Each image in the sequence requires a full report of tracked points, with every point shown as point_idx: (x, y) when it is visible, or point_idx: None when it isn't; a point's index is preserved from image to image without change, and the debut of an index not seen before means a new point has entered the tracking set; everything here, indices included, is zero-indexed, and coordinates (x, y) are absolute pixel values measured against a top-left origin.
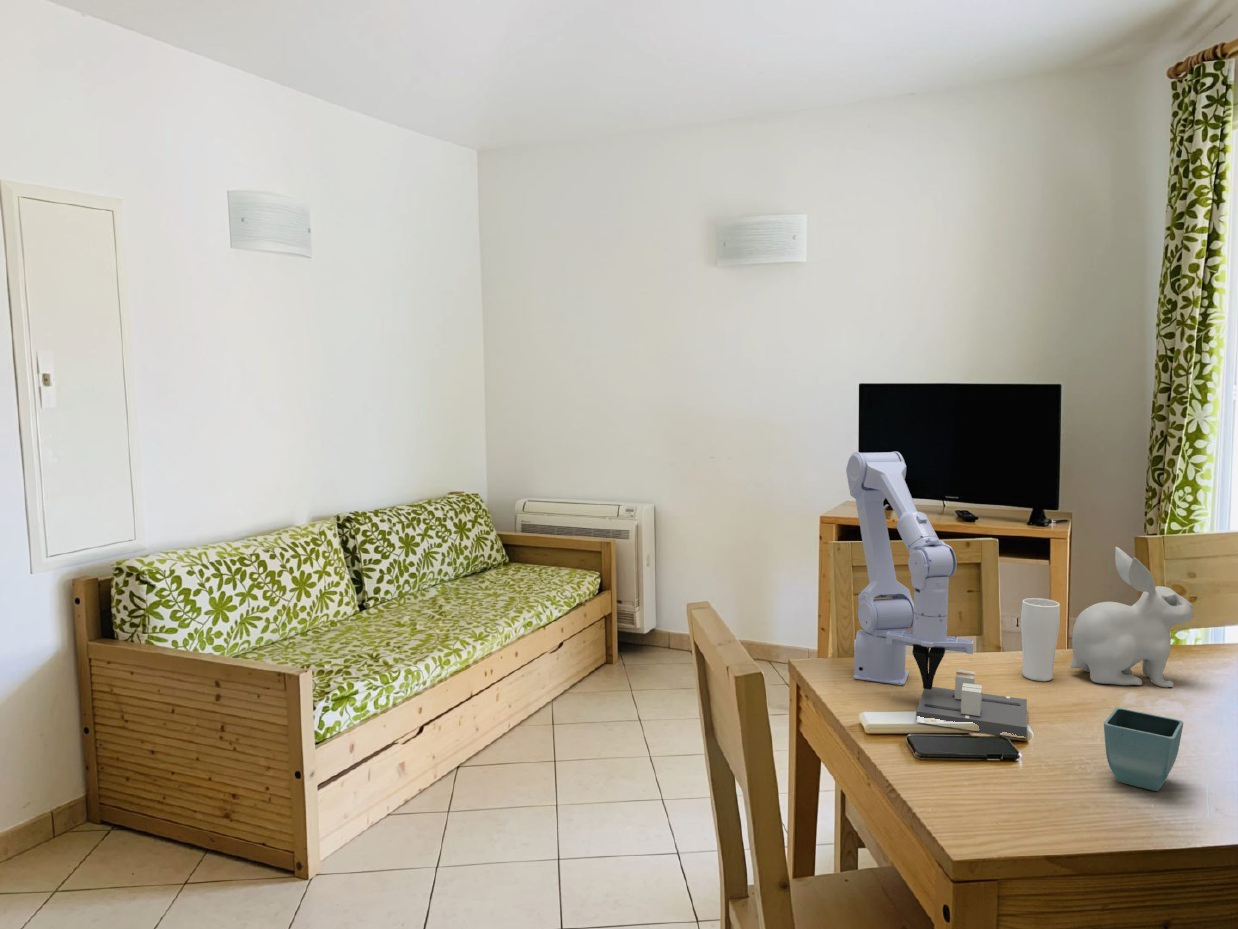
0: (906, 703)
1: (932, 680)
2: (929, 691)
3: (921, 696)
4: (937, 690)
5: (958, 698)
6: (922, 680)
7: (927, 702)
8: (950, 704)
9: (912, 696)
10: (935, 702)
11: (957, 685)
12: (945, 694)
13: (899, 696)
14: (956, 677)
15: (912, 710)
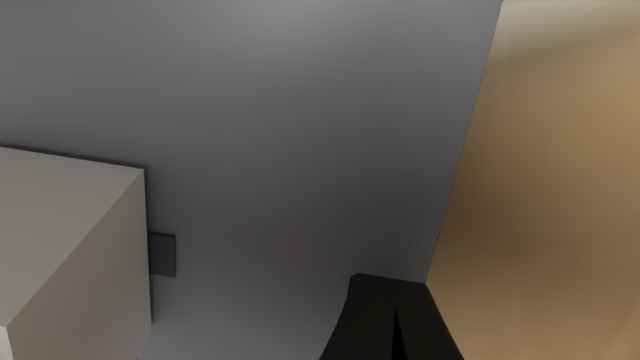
0: (547, 201)
1: (337, 331)
2: None
3: (451, 181)
4: (297, 342)
5: (106, 166)
6: (452, 338)
7: (410, 12)
8: (171, 22)
9: (471, 336)
10: (323, 38)
11: (48, 243)
12: (232, 273)
13: (570, 321)
14: (1, 317)
15: (528, 50)
